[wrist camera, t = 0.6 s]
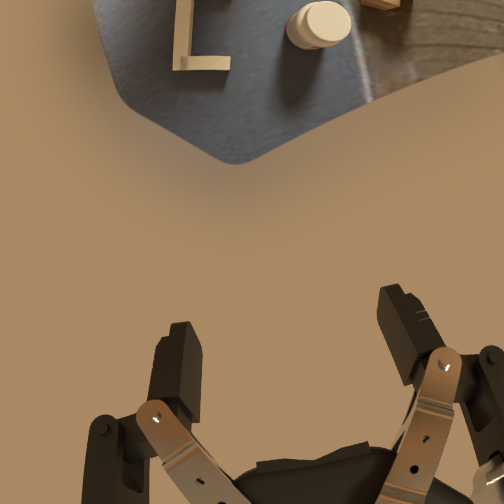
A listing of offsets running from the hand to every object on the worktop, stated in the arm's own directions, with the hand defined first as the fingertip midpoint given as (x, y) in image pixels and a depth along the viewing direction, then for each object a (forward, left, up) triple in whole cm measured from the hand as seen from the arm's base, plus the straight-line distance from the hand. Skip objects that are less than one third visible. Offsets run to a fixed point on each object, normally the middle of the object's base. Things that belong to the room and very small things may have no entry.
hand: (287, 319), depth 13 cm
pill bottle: (-15, +5, -27) cm, 31 cm away
